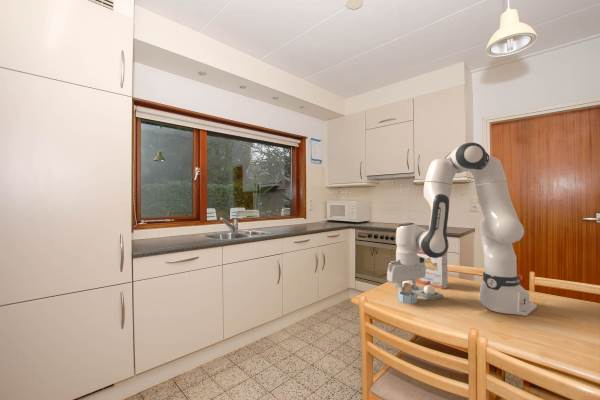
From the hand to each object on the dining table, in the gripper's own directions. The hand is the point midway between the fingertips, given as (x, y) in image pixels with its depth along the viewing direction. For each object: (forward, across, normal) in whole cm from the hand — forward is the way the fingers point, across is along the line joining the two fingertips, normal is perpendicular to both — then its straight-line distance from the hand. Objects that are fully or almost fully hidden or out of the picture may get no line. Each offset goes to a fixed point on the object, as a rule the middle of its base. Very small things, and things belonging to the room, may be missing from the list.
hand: (406, 289), depth 122 cm
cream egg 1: (+5, +13, +12) cm, 18 cm away
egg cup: (+6, 0, 0) cm, 6 cm away
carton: (+6, +13, +5) cm, 15 cm away
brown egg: (+2, 0, 0) cm, 2 cm away
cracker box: (+6, +28, +10) cm, 30 cm away
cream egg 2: (+4, +13, -1) cm, 14 cm away
